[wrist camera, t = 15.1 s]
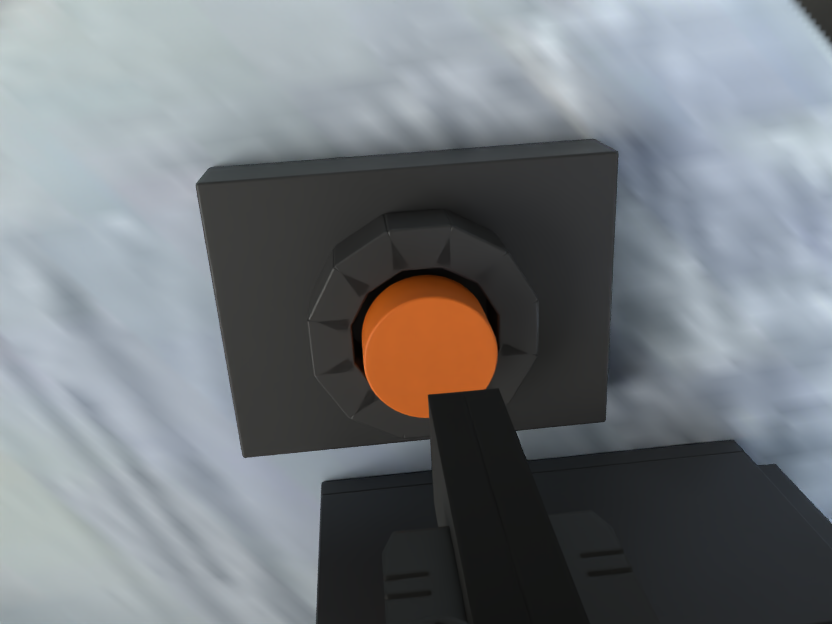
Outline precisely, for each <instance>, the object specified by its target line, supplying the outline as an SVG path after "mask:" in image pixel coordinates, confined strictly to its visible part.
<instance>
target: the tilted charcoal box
mask: <svg viewBox="0 0 832 624" xmlns="http://www.w3.org/2000/svg"><path fill="white" fill-rule="evenodd" d="M527 462H528V465H529V467H530V470H531V473H532V475H533V478H534V480H535V483H536V485H537V488H538V491H539V493H540V496H541V498H542V501H543V503H544V506H545V509H546V511H547V514H554V513H564V512H574V511H584V510H592V511H593V512H595V513H596V514H597V515H598V516H599V517H601V518H602V519H603V520H604V521H605V522H606V523H608V524H609V525H610V526H611V527H612V528H613V530H614V532H615V534H616V536H617V538H618V540H619V542H620V544H621V546H622V548H623V550H624V554H626V555H627V557H628V559H629V561H630V563H631V565H632V568H633V572H635V573H636V575H637V577H638V579H639V581H640V583H641V585H642V587H643V589H644V591H645V593H646V595H647V597H648V599H649V601H650V603H651V605H652V607H653V609H654V611H655V613H656V615H657V617H658V619H659V621H660V623H661V624H832V548H831V547H830V546H829V545H828V544H827V543H826V542H825V541H824V539H823V538H822V537H821V536H820V535H819V534H818V533H817V532H816V531H815V529H814V528H813V527H812V526H811V525H810V524H809V523H808V522H807V521H806V519H805V518H804V517H803V516H802V515H801V514H800V513H799V512H798V511H797V509H796V508H795V507H794V506H793V505H792V504H791V503H790V502H789V501H788V499H787V498H786V497H785V496H784V495H783V494H782V493H781V492H780V491H779V489H778V488H777V487H776V486H775V485H774V484H773V483H772V482H771V481H770V479H769V478H768V477H767V476H766V475H765V474H764V473H763V472H762V471H761V469H760V468H759V467H758V466H757V465H756V464H755V463H754V462H753V461H752V459H751V458H750V457H749V456H748V455H747V454H746V453H745V452H744V451H743V449H742V448H741V447H740V446H739V445H738V444H737V443H736V442H735V441H734V440H729V441H720V442H710V443H700V444H690V445H681V446H671V447H661V448H651V449H642V450H632V451H622V452H612V453H603V454H593V455H583V456H574V457H564V458H554V459H544V460H535V461H527ZM434 527H438V523H437V517H436V511H435V505H434V493H433V476H432V471H427V472H418V473H408V474H398V475H388V476H379V477H369V478H359V479H349V480H340V481H330V482H322V484H321V509H320V534H319V559H318V584H317V610H316V624H386V616H385V598H384V582H383V581H384V580H383V564H382V552H383V550H384V548H385V546H386V544H387V542H388V540H389V538H390V536H391V534H392V532H394V531H404V530H414V529H424V528H434Z"/></svg>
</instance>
